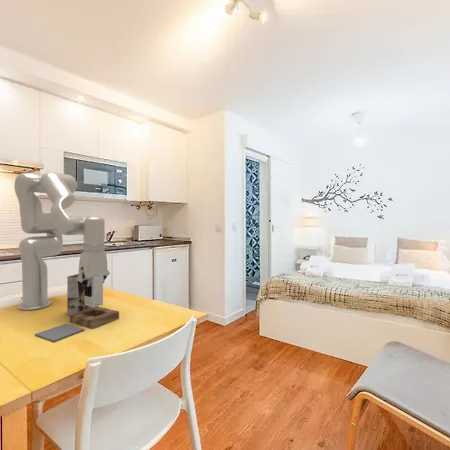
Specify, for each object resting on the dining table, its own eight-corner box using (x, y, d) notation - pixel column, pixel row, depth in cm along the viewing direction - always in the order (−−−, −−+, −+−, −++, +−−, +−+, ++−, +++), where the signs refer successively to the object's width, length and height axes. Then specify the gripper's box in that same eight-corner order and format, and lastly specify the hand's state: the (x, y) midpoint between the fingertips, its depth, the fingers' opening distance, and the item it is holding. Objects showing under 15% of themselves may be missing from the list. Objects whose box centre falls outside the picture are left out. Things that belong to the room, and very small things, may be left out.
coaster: (34, 335, 99) (34, 333, 99) (65, 325, 108) (65, 323, 108) (54, 342, 93) (54, 340, 93) (84, 330, 103) (84, 329, 103)
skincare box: (103, 305, 114) (103, 275, 113) (93, 308, 110) (93, 277, 109) (93, 302, 117) (93, 273, 116) (84, 305, 113) (84, 275, 113)
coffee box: (80, 316, 118) (79, 277, 118) (66, 315, 120) (66, 276, 119) (94, 309, 127) (94, 272, 127) (81, 308, 128) (81, 272, 128)
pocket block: (69, 322, 111) (69, 314, 111) (96, 313, 122) (96, 306, 122) (92, 328, 105) (92, 320, 105) (119, 318, 115) (119, 311, 115)
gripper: (105, 245, 122) (105, 288, 122) (67, 249, 107) (67, 298, 108) (118, 247, 118) (117, 291, 119) (80, 251, 103) (80, 301, 104)
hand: (93, 294), depth 113 cm, fingers closed on skincare box, 4 cm apart
